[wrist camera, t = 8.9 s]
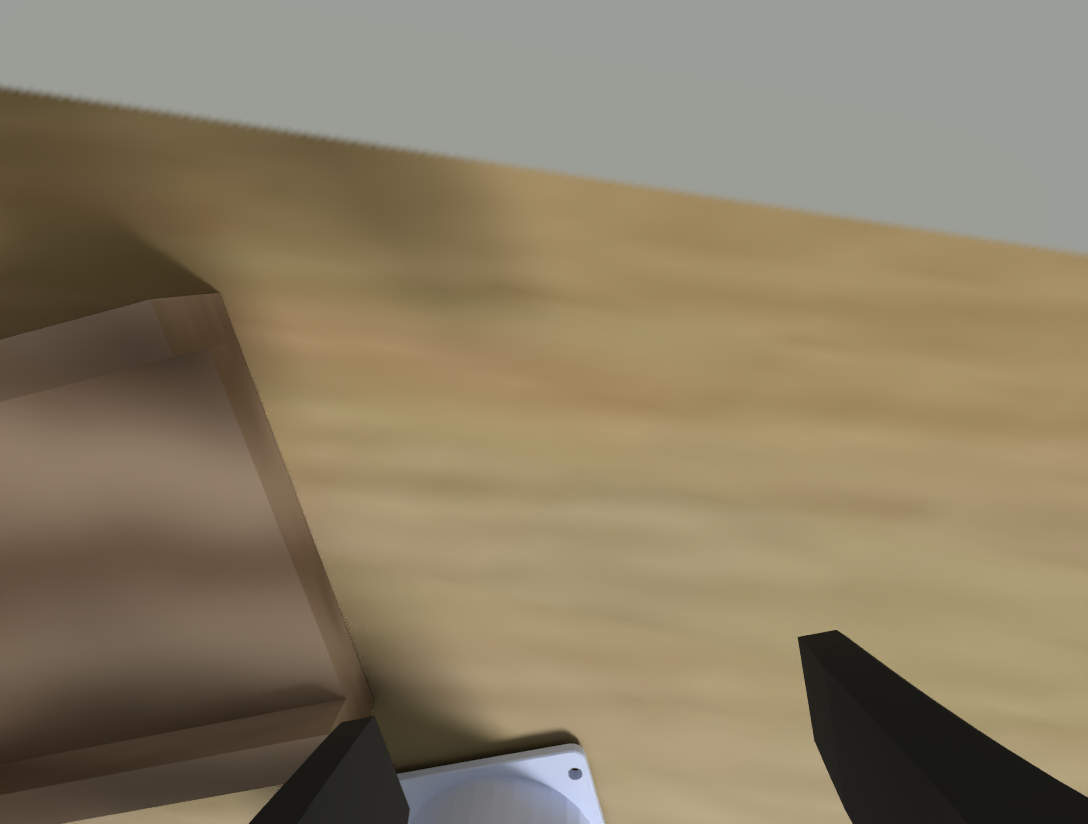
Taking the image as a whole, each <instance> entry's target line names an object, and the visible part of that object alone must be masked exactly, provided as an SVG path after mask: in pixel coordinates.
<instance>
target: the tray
mask: <svg viewBox="0 0 1088 824" xmlns="http://www.w3.org/2000/svg"><path fill="white" fill-rule="evenodd" d="M374 703H375V702H374V699H373V696H372V694H371V691H370V688H369V686H368V683H367V681H366V678H365V675H364V673H363V670H362V667H361V665H360V662H359V659H358V657H357V654H356V652H355V649H354V646H353V644H352V641H351V638H350V636H349V633H348V630H347V628H346V625H345V623H344V620H343V617H342V615H341V612H340V609H339V607H338V604H337V601H336V599H335V596H334V594H333V591H332V588H331V586H330V583H329V580H328V578H327V575H326V572H325V570H324V567H323V565H322V562H321V559H320V557H319V554H318V551H317V549H316V546H315V543H314V541H313V538H312V536H311V533H310V530H309V528H308V525H307V522H306V520H305V517H304V514H303V512H302V509H301V507H300V504H299V501H298V499H297V496H296V493H295V491H294V488H293V485H292V483H291V480H290V478H289V475H288V472H287V470H286V467H285V464H284V462H283V459H282V456H281V454H280V451H279V449H278V446H277V443H276V441H275V438H274V435H273V433H272V430H271V427H270V425H269V422H268V420H267V417H266V414H265V412H264V409H263V406H262V404H261V401H260V398H259V396H258V393H257V391H256V388H255V385H254V383H253V380H252V377H251V375H250V372H249V369H248V367H247V364H246V362H245V359H244V356H243V354H242V351H241V348H240V346H239V343H238V340H237V338H236V335H235V333H234V330H233V327H232V325H231V322H230V319H229V317H228V314H227V311H226V309H225V306H224V304H223V301H222V298H221V296H220V293H210V294H200V295H189V296H178V297H168V298H157V299H149V300H145V301H141V302H138V303H134V304H130V305H127V306H123V307H119V308H115V309H112V310H108V311H104V312H101V313H97V314H93V315H89V316H86V317H82V318H78V319H75V320H71V321H67V322H63V323H60V324H56V325H52V326H49V327H45V328H41V329H38V330H34V331H30V332H26V333H23V334H19V335H15V336H12V337H8V338H4V339H0V824H61V823H67V822H72V821H78V820H84V819H89V818H95V817H100V816H106V815H112V814H117V813H123V812H129V811H134V810H140V809H146V808H151V807H157V806H162V805H168V804H174V803H179V802H185V801H191V800H196V799H202V798H207V797H213V796H219V795H224V794H230V793H236V792H241V791H247V790H253V789H258V788H264V787H269V786H275V785H281V784H285V783H286V782H287V781H288V779H289V778H290V777H291V776H292V775H293V774H294V773H295V772H296V771H297V769H298V768H299V767H300V766H301V765H302V764H303V763H304V762H305V760H306V759H307V758H308V757H309V756H310V755H311V754H312V753H313V752H314V751H315V749H316V748H317V747H318V746H319V745H320V744H321V743H322V742H323V741H324V740H325V739H326V738H327V736H328V735H329V734H330V733H331V732H332V731H333V730H334V729H335V728H336V727H337V726H338V725H339V724H340V723H341V722H345V721H351V720H356V719H361V718H367V717H369V714H370V712H371V710H372V707H373V705H374Z"/></svg>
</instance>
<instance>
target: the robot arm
mask: <svg viewBox="0 0 1088 824" xmlns="http://www.w3.org/2000/svg"><path fill="white" fill-rule="evenodd" d="M798 642H799V648H800V654H801V661H802V667H803V673H804V679H805V685H806V691H807V698H808V704H809V710H810V716H811V722H812V728H813V735H814V741H815V743H816V745H817V747H818V750H819V752H820V754H821V757H822V759H823V761H824V764H825V766H826V768H827V770H828V773H829V775H830V777H831V780H832V782H833V784H834V786H835V788H836V791H837V793H838V795H839V797H840V800H841V802H842V804H843V806H844V808H845V810H846V812H847V814H848V816H849V818H850V819H851V821H852V823H853V824H1088V797H1086V796H1084V795H1082V794H1081V793H1079V792H1077V791H1076V790H1074V789H1072V788H1070V787H1069V786H1067V785H1065V784H1064V783H1062V782H1060V781H1058V780H1057V779H1055V778H1053V777H1052V776H1050V775H1048V774H1047V773H1045V772H1044V771H1042V770H1040V769H1039V768H1037V767H1036V766H1034V765H1032V764H1031V763H1029V762H1028V761H1026V760H1024V759H1023V758H1021V757H1019V756H1018V755H1016V754H1015V753H1013V752H1011V751H1010V750H1008V749H1007V748H1005V747H1003V746H1002V745H1000V744H999V743H997V742H996V741H994V740H993V739H991V738H990V737H988V736H987V735H985V734H983V733H982V732H980V731H979V730H977V729H976V728H974V727H973V726H971V725H970V724H968V723H967V722H966V721H964V720H963V719H961V718H960V717H958V716H957V715H955V714H954V713H952V712H951V711H949V710H948V709H946V708H945V707H943V706H942V705H940V704H939V703H937V702H936V701H935V700H933V699H932V698H930V697H929V696H927V695H926V694H925V693H923V692H922V691H920V690H919V689H917V688H916V687H915V686H913V685H912V684H910V683H909V682H908V681H906V680H905V679H903V678H902V677H901V676H899V675H898V674H897V673H895V672H894V671H892V670H891V669H890V668H888V667H887V666H886V665H884V664H883V663H881V662H880V661H879V660H877V659H876V658H875V657H873V656H872V655H871V654H869V653H868V652H867V651H865V650H864V649H863V648H861V647H860V646H859V645H857V644H856V643H854V642H853V641H852V640H850V639H849V638H848V637H846V636H845V635H843V634H842V633H840V632H839V631H837V630H833V631H828V632H822V633H817V634H812V635H806V636H801V637H798ZM572 768H578V769H579V770H571V769H572ZM249 824H605V821H604V817H603V814H602V810H601V807H600V803H599V800H598V796H597V792H596V789H595V785H594V782H593V778H592V775H591V771H590V767H589V764H588V760H587V757H586V753H585V751H584V749H583V748H582V747H581V746H579V745H577V744H564V745H558V746H553V747H547V748H541V749H535V750H530V751H524V752H518V753H513V754H507V755H501V756H496V757H490V758H484V759H479V760H473V761H467V762H462V763H456V764H450V765H444V766H439V767H433V768H427V769H422V770H416V771H410V772H405V773H399V774H396V771H395V768H394V766H393V763H392V761H391V758H390V755H389V753H388V750H387V748H386V745H385V742H384V740H383V737H382V734H381V732H380V729H379V727H378V724H377V721H376V719H375V716H372V717H367V718H361V719H356V720H351V721H345V722H341V723H340V724H339V725H338V726H337V727H336V728H335V729H334V730H333V731H332V732H331V733H330V734H329V735H328V736H327V738H326V739H325V740H324V741H323V742H322V743H321V744H320V745H319V746H318V747H317V748H316V749H315V751H314V752H313V753H312V754H311V755H310V756H309V757H308V758H307V759H306V760H305V762H304V763H303V764H302V765H301V766H300V767H299V768H298V769H297V771H296V772H295V773H294V774H293V775H292V776H291V777H290V778H289V779H288V781H287V782H286V783H285V784H284V785H283V786H282V787H281V788H280V790H279V791H278V792H277V793H276V794H275V795H274V796H273V797H272V798H271V799H270V801H269V802H268V803H267V804H266V805H265V806H264V807H263V808H262V809H261V811H260V812H259V813H258V814H257V815H256V816H255V817H254V818H253V819H252V820H251V822H250V823H249Z"/></svg>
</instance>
